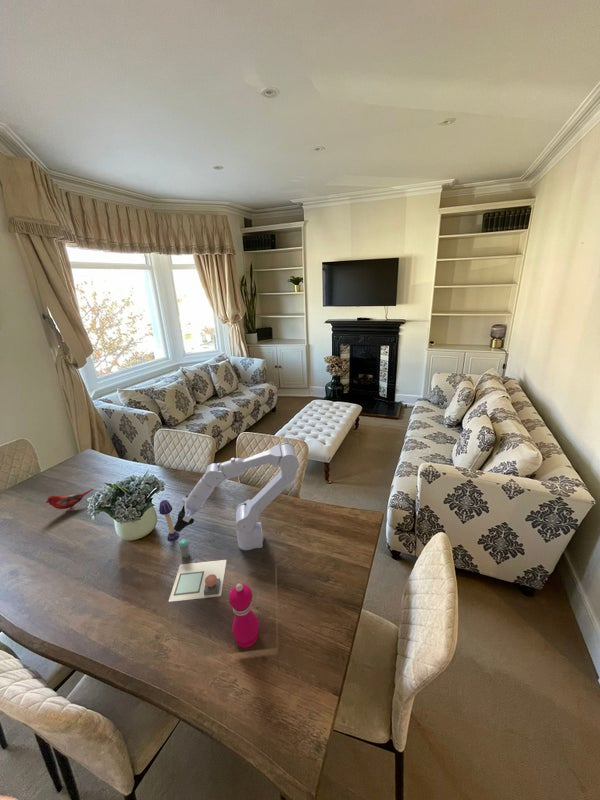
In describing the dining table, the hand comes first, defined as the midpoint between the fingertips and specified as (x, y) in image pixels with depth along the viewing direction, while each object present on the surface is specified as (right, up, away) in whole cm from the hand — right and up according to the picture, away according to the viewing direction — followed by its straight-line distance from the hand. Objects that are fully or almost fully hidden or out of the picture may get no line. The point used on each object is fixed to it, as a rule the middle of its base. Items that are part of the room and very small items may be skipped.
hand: (179, 522), depth 113 cm
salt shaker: (+1, -14, +4) cm, 15 cm away
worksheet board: (+9, -17, -6) cm, 20 cm away
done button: (+14, -16, -10) cm, 24 cm away
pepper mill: (+28, -23, -23) cm, 43 cm away
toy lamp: (-8, -11, +14) cm, 19 cm away
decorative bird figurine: (-60, -6, +33) cm, 68 cm away
